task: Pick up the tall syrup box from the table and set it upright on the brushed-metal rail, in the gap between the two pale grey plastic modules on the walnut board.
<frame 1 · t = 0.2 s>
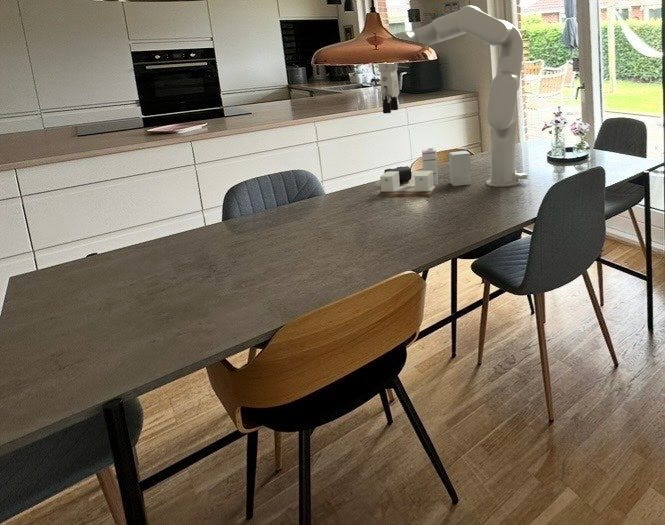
hand: (390, 111, 231), 30 cm above the table, fingers open, 9 cm apart
syrup box: (430, 184, 236), on the table
rail board: (407, 192, 226), on the table
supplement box: (460, 183, 232), on the table
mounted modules: (406, 181, 224), on the rail board, point 5 cm above the table
end cap: (398, 183, 244), on the table
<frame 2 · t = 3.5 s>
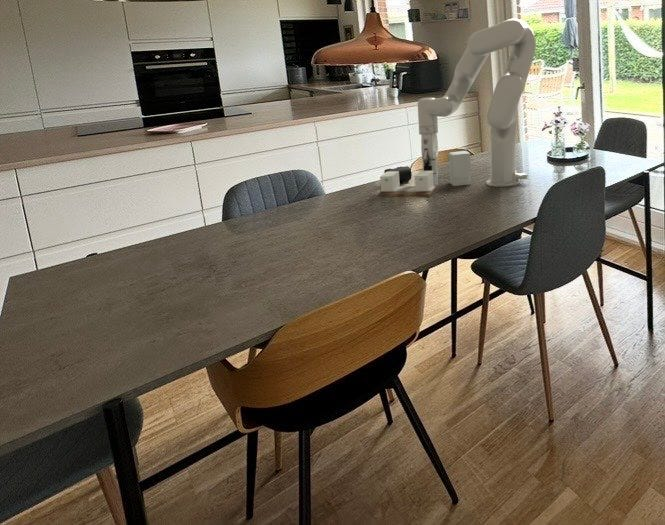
hand: (430, 173, 234), 5 cm above the table, fingers closed on syrup box, 6 cm apart
syrup box: (430, 184, 236), on the table, touching gripper
everything else where it was.
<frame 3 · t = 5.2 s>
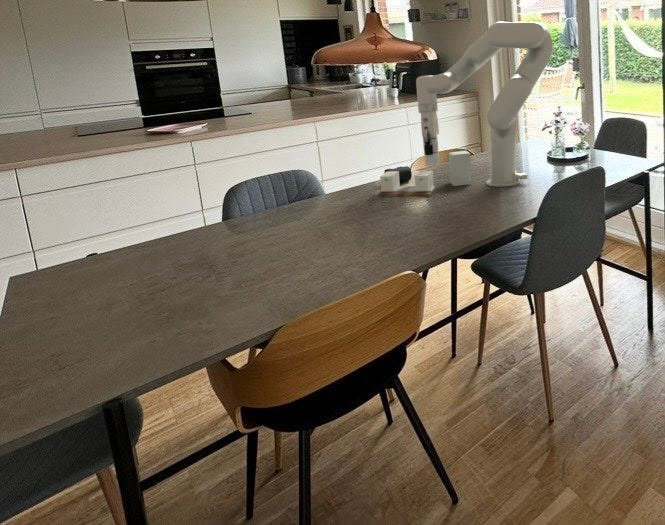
hand: (431, 152, 231), 13 cm above the table, fingers closed on syrup box, 6 cm apart
syrup box: (432, 164, 232), point 8 cm above the table, touching gripper
everything else where it was.
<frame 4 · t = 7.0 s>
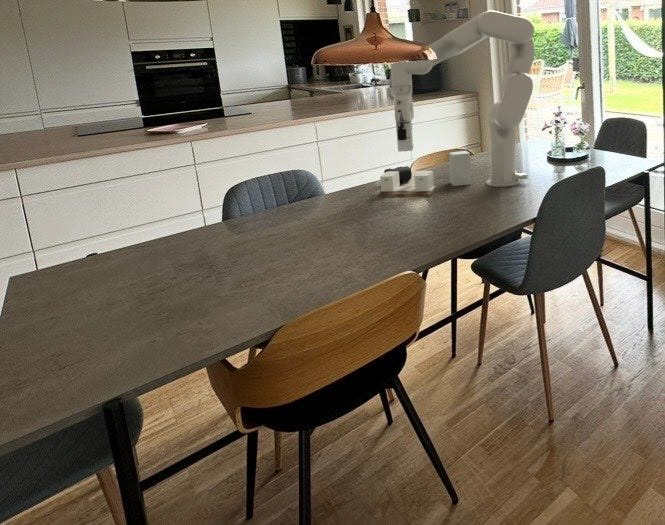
hand: (405, 137, 219), 22 cm above the table, fingers closed on syrup box, 6 cm apart
syrup box: (405, 150, 221), point 17 cm above the table, touching gripper
everything else where it was.
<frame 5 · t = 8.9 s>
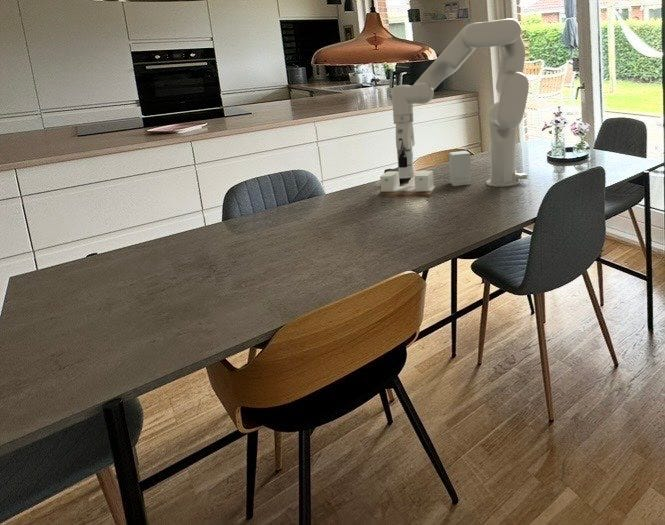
hand: (405, 164, 222), 11 cm above the table, fingers closed on syrup box, 6 cm apart
syrup box: (406, 177, 224), point 6 cm above the table, touching gripper
everything else where it was.
when the fingers open (8 cm above the table, at t = 10.5 s): syrup box drops 1 cm, resting on rail board.
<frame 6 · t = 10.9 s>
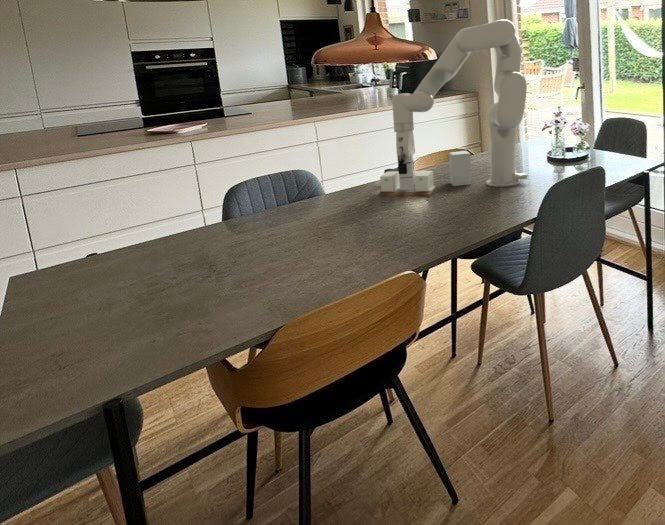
hand: (406, 171, 223), 9 cm above the table, fingers open, 9 cm apart
syrup box: (407, 188, 225), point 2 cm above the table, touching rail board
everything else where it was.
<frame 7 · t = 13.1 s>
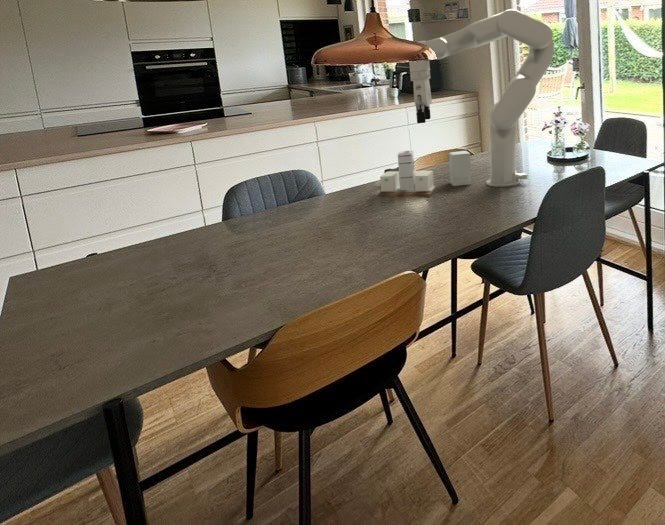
hand: (424, 121, 223), 27 cm above the table, fingers open, 9 cm apart
nothing on the table moved.
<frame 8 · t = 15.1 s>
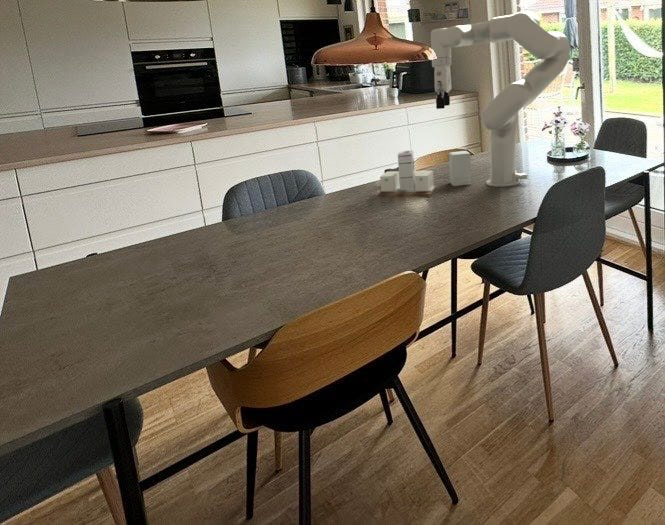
hand: (443, 107, 228), 30 cm above the table, fingers open, 9 cm apart
nothing on the table moved.
at the end: syrup box 0.2 cm off-centre on the rail board, point 1.6 cm above the rail board's base; syrup box tilted 0°; the gripper is holding nothing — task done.
